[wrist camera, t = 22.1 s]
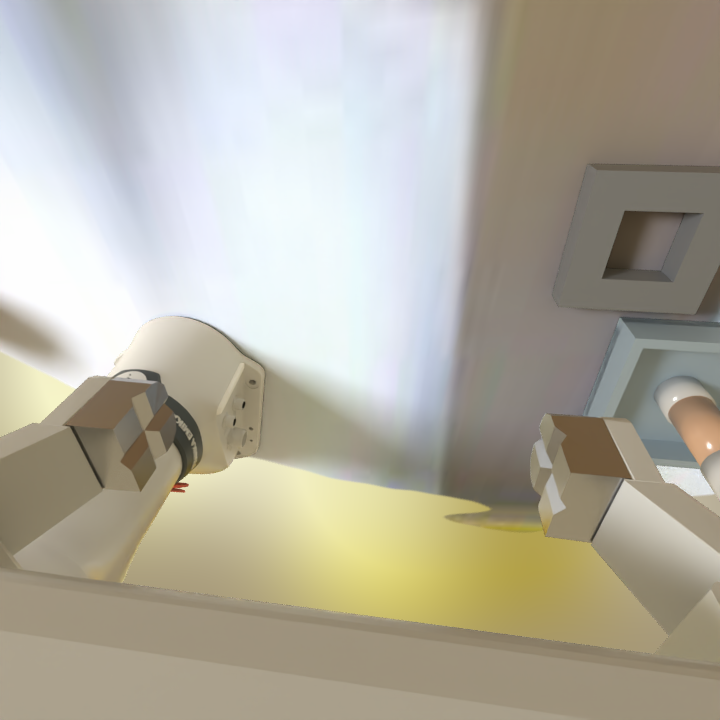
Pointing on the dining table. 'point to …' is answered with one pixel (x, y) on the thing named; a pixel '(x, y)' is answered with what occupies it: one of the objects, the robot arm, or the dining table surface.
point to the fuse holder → (600, 226)
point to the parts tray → (655, 378)
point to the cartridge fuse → (694, 422)
